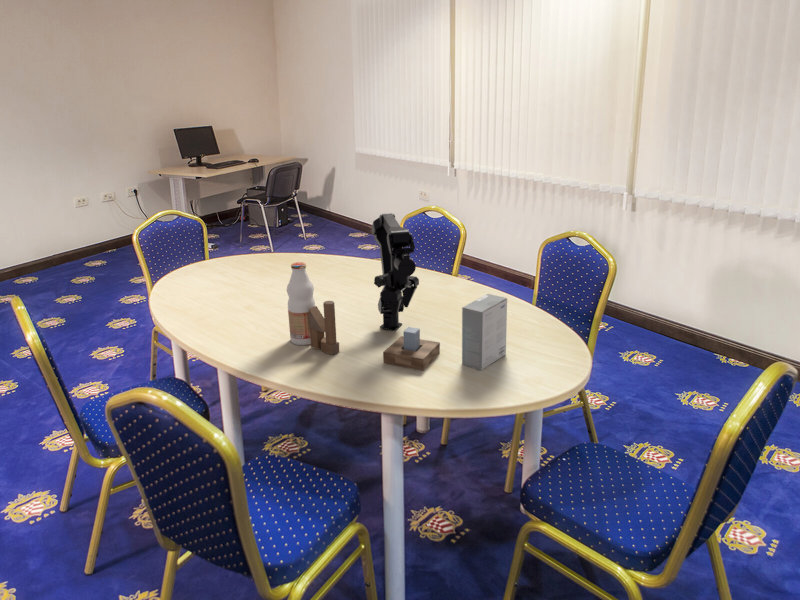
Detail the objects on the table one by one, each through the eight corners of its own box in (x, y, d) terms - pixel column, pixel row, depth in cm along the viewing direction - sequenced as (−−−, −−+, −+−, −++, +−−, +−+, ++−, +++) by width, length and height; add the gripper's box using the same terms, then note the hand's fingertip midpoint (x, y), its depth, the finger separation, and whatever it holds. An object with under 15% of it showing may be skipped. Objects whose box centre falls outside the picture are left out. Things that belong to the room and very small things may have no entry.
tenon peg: (408, 352, 209) (408, 326, 206) (419, 354, 207) (419, 328, 204) (403, 356, 205) (403, 331, 202) (415, 358, 204) (414, 333, 201)
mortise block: (401, 346, 215) (401, 335, 214) (439, 353, 210) (439, 342, 208) (383, 363, 203) (383, 351, 202) (423, 370, 198) (423, 359, 196)
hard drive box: (486, 348, 213) (488, 293, 206) (506, 354, 208) (508, 297, 201) (460, 364, 201) (461, 306, 195) (481, 371, 197) (482, 311, 190)
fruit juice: (291, 347, 217) (285, 269, 207) (289, 336, 225) (283, 261, 216) (319, 343, 219) (314, 266, 209) (315, 333, 227) (310, 259, 218)
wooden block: (318, 343, 219) (315, 295, 213) (339, 352, 212) (337, 302, 206) (310, 347, 216) (307, 297, 210) (331, 355, 209) (328, 305, 203)
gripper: (389, 257, 219) (390, 299, 224) (365, 272, 203) (366, 317, 209) (419, 261, 215) (419, 304, 220) (396, 276, 199) (397, 322, 204)
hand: (400, 311), depth 213 cm, fingers open, 9 cm apart
